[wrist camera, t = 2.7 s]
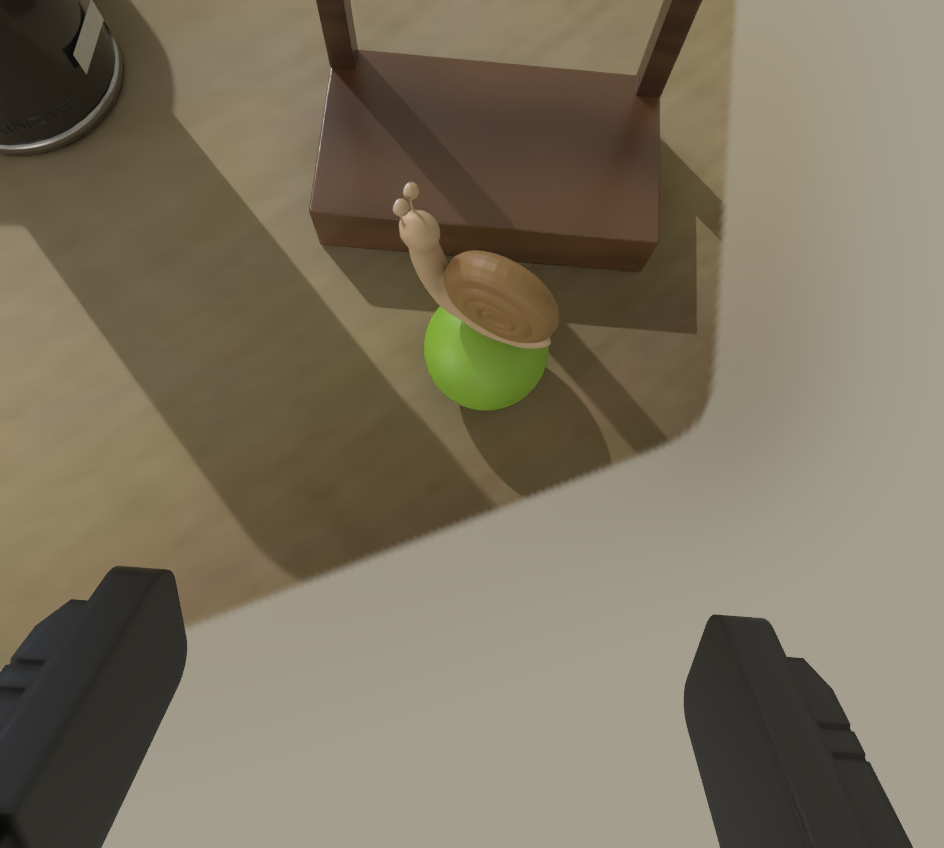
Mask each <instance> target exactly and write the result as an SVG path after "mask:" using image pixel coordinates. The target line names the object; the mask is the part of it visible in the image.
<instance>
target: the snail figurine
mask: <svg viewBox="0 0 944 848" xmlns="http://www.w3.org/2000/svg"><path fill="white" fill-rule="evenodd" d="M403 195H404V197H405V198H406V199H408V200H410V206H411V209H412V210H411V211H409V204H408V202H407V201H406V200H405V199H398V200H396V202H395V203H394V205H393V212H394V213H395V214H396V215H397V216H400V222H399V231H400V237H401V239H402V240H403V242H404V243H405V244H406V245H407V246H408V248H409V252H410V257H411V260H412V263H413V265H414V268H415V270H416V272H417V274H418V276H419V278H420V280H421V281H422V283H423V285H424V286H425V288H426V289H427V291H428V292H429V293H430V295H431V296H432V297H433V299H434V300H435V301H436V302H437V303H438V304H439V305H440V307H439V308H438V309H437V310H436V312H435V313H434V315H433V317H432V318H431V320H430V322H429V325H428V328H427V331H426V335H425V341H424V356H425V362H426V365H427V369H428V371H429V374H430V376H431V378H432V380H433V381H434V383H435V384H436V386H437V387H438V388H439V389H440V390H441V392H442V393H444V394H445V395H446V396H447V397H448V398H449V399H451V400H452V401H454V402H456V403H457V404H459V405H462V406H464V407H467V408H470V409H475V410H484V411H489V410H498V409H502V408H505V407H508V406H511V405H513V404H515V403H517V402H518V401H520V400H522V399H523V398H524V397H526V396H527V395H528V394H529V393H530V392H531V391H532V390H533V389H534V388H535V386H536V385H537V383H538V382H539V380H540V379H541V377H542V375H543V373H544V370H545V367H546V364H547V359H548V351H549V345H550V344H551V339H550V338H549V337H551V336H552V334H553V333H554V332H555V331H556V329H557V327H558V324H559V320H560V314H559V308H558V305H557V302H556V300H555V298H554V296H553V294H552V293H551V291H550V290H549V289H548V288H547V286H546V285H545V284H544V283H543V282H542V281H541V280H540V279H539V278H538V277H537V276H535V275H534V274H533V273H532V272H530V271H529V270H528V269H526V268H525V267H523V266H521V265H520V264H518V263H516V262H514V261H512V260H510V259H508V258H506V257H504V256H501V255H498V254H495V253H491V252H486V251H477V250H472V251H466V252H463V253H461V254H459V255H456V256H455V257H454V258H453V259H452V260H451V261H450V262H449V263H448V264H447V261H446V258H445V255H444V253H443V250H442V248H441V246H440V244H439V239H440V227H439V225H438V223H437V221H436V219H435V218H434V217H433V216H432V215H431V214H429V213H427V212H425V211H422V210H415V209H414V207H413V204H412V200H414V199H416V198H417V197H418V195H419V187H418V186H417V184H415V183H414V182H409V183H407V184H406V185H405V187H404V189H403Z"/></svg>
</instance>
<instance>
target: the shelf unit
mask: <svg viewBox="0 0 944 848" xmlns="http://www.w3.org/2000/svg"><path fill="white" fill-rule="evenodd" d="M316 2H317V7H318V11H319V16H320V21H321V25H322V30H323V35H324V39H325V44H326V48H327V53H328V58H329V62H330V66H331V69H330V75H329V82H328V89H327V95H326V102H325V109H324V115H323V122H322V129H321V135H320V142H319V149H318V155H317V162H316V169H315V175H314V182H313V188H312V195H311V202H310V208H309V212H310V215H311V218H312V221H313V224H314V227H315V229H316V232H317V235H318V238H319V241H320V244H324V245H336V246H347V247H359V248H370V249H382V250H393V251H405V252H409V248H408V246H407V245H406V244H405V243H404V242H403V240H402V239H401V237H400V231H399V222H400V216H397V215H396V214H395V213H394V212H393V205H394V203H395V202H396V200H398V199H405V200H406V201H407V202H408V204H409V211H411V210H412V209H411V206H410V200H408V199H406V198H405V197H404V195H403V189H404V187H405V185H406V184H407V183H409V182H414V183H415V184H417V186H418V187H419V195H418V197H417V198H416V199H414V200H412V204H413V207H414V209H415V210H422V211H425V212H427V213H429V214H431V215H432V216H433V217H434V218H435V219H436V221H437V223H438V225H439V227H440V239H439V244H440V246H441V248H442V250H443V253H444V255H451V256H456V255H459V254H461V253H463V252H466V251H472V250H477V251H486V252H491V253H495V254H498V255H501V256H504V257H506V258H508V259H510V260H512V261H520V262H531V263H543V264H554V265H566V266H577V267H589V268H600V269H612V270H623V271H635V272H641V271H642V269H643V267H644V266H645V264H646V262H647V261H648V259H649V257H650V256H651V254H652V252H653V251H654V249H655V247H656V246H657V244H658V242H659V139H660V96H661V94H662V92H663V90H664V87H665V85H666V83H667V80H668V78H669V76H670V73H671V71H672V69H673V66H674V64H675V62H676V59H677V57H678V55H679V52H680V50H681V48H682V46H683V43H684V41H685V39H686V36H687V34H688V32H689V29H690V27H691V25H692V22H693V20H694V18H695V15H696V13H697V11H698V8H699V6H700V4H701V2H702V0H664V1H663V4H662V7H661V10H660V12H659V15H658V18H657V20H656V23H655V26H654V29H653V31H652V34H651V37H650V39H649V42H648V45H647V48H646V50H645V53H644V56H643V58H642V61H641V64H640V67H639V69H638V72H637V75H625V74H614V73H603V72H592V71H581V70H571V69H560V68H549V67H538V66H527V65H517V64H506V63H495V62H484V61H473V60H463V59H452V58H441V57H430V56H419V55H408V54H398V53H387V52H376V51H365V50H358V47H357V41H356V35H355V29H354V22H353V16H352V10H351V3H350V0H316Z"/></svg>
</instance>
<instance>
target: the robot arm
mask: <svg viewBox="0 0 944 848" xmlns="http://www.w3.org/2000/svg"><path fill="white" fill-rule="evenodd" d="M103 20H104V19H103V17H102V16H101V14H100V12H99V10H98V9H97V7H96V5H95V4H94V2H93V0H91V1H90V0H0V154H2V155H19V156H21V155H32V154H39V153H44V152H48V151H51V150H54V149H58V148H60V147H63V146H65V145H67V144H69V143H71V142H73V141H75V140H77V139H79V138H80V137H82V136H83V135H85V134H86V133H88V132H89V131H90V130H92V129H93V128H94V127H95V126H96V125H97V124H98V123H99V122H100V121H101V120H102V119H103V118H104V117H105V115H106V114H107V113H108V112H109V110H110V109H111V107H112V106H113V104H114V102H115V100H116V98H117V96H118V93H119V91H120V88H121V84H122V78H123V60H122V55H121V51H120V48H119V46H118V44H117V42H116V40H115V38H114V36H113V34H112V33H111V31H110V29H109V28H108V26H107V25H106V23H105V22H104V21H103ZM186 655H187V639H186V633H185V628H184V623H183V618H182V612H181V607H180V602H179V596H178V591H177V586H176V581H175V577H174V575H173V573H172V572H171V571H170V570H165V569H152V568H139V567H127V566H116V567H114V568H112V569H111V570H110V571H109V572H108V573H107V574H106V576H105V577H104V579H103V580H102V581H101V583H100V584H99V586H98V587H97V588H96V590H95V591H94V593H93V594H92V596H91V597H90V598H89V600H88V601H86V600H73V599H71V600H70V601H68V602H67V603H66V604H64V605H63V606H62V607H60V608H59V609H58V610H56V611H55V612H54V613H52V614H51V615H50V616H48V617H47V618H45V619H44V620H43V621H41V622H40V623H39V624H37V625H36V626H35V627H34V629H33V630H32V631H31V633H30V634H29V635H28V637H27V638H26V639H25V640H24V642H23V643H22V644H21V646H20V647H19V648H18V650H17V651H16V652H15V654H14V655H13V656H12V658H11V663H10V664H9V665H5V667H4V668H3V669H2V671H1V672H0V848H101V847H102V845H103V843H104V841H105V839H106V837H107V834H108V832H109V830H110V828H111V826H112V824H113V822H114V820H115V818H116V816H117V813H118V811H119V809H120V807H121V805H122V803H123V801H124V799H125V797H126V795H127V792H128V790H129V788H130V786H131V784H132V782H133V780H134V777H135V776H136V774H137V771H138V769H139V767H140V765H141V763H142V761H143V759H144V757H145V755H146V752H147V750H148V748H149V746H150V744H151V742H152V740H153V737H154V736H155V734H156V731H157V729H158V727H159V725H160V723H161V721H162V719H163V717H164V715H165V713H166V710H167V708H168V706H169V704H170V702H171V700H172V698H173V696H174V694H175V692H176V689H177V687H178V685H179V683H180V680H181V677H182V674H183V671H184V667H185V662H186ZM684 712H685V719H686V724H687V728H688V732H689V736H690V739H691V743H692V746H693V750H694V754H695V757H696V761H697V765H698V768H699V772H700V775H701V779H702V783H703V786H704V790H705V794H706V797H707V801H708V804H709V808H710V812H711V815H712V819H713V822H714V826H715V830H716V834H717V837H718V841H719V845H720V848H913V847H912V845H911V843H910V841H909V839H908V837H907V835H906V833H905V831H904V829H903V827H902V825H901V823H900V821H899V819H898V817H897V815H896V813H895V811H894V809H893V807H892V805H891V803H890V801H889V799H888V797H887V796H886V793H885V792H884V790H883V788H882V786H881V784H880V782H879V780H878V778H877V776H876V774H875V772H874V770H873V768H872V766H871V764H870V762H867V761H866V760H865V752H864V750H863V748H862V746H861V744H860V742H859V740H858V739H857V736H856V735H855V733H854V732H851V730H850V723H849V721H848V719H847V717H846V715H845V713H844V711H843V709H842V707H841V705H840V703H839V701H838V699H837V697H836V695H835V693H834V691H833V689H832V688H831V687H830V686H829V685H828V684H827V683H826V682H825V681H824V680H823V679H822V678H821V677H820V676H819V675H818V673H817V672H816V671H815V670H814V669H813V668H812V667H811V666H810V665H809V664H808V663H807V662H806V661H805V660H804V659H803V658H792V657H786V655H785V653H784V650H783V648H782V646H781V644H780V642H779V640H778V637H777V635H776V633H775V631H774V629H773V627H772V625H771V624H770V623H769V622H768V621H767V620H766V619H763V618H751V617H739V616H726V615H712V616H711V617H710V618H709V620H708V622H707V624H706V627H705V629H704V632H703V635H702V638H701V641H700V643H699V646H698V649H697V652H696V655H695V657H694V660H693V663H692V666H691V669H690V671H689V674H688V677H687V680H686V684H685V690H684Z"/></svg>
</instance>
